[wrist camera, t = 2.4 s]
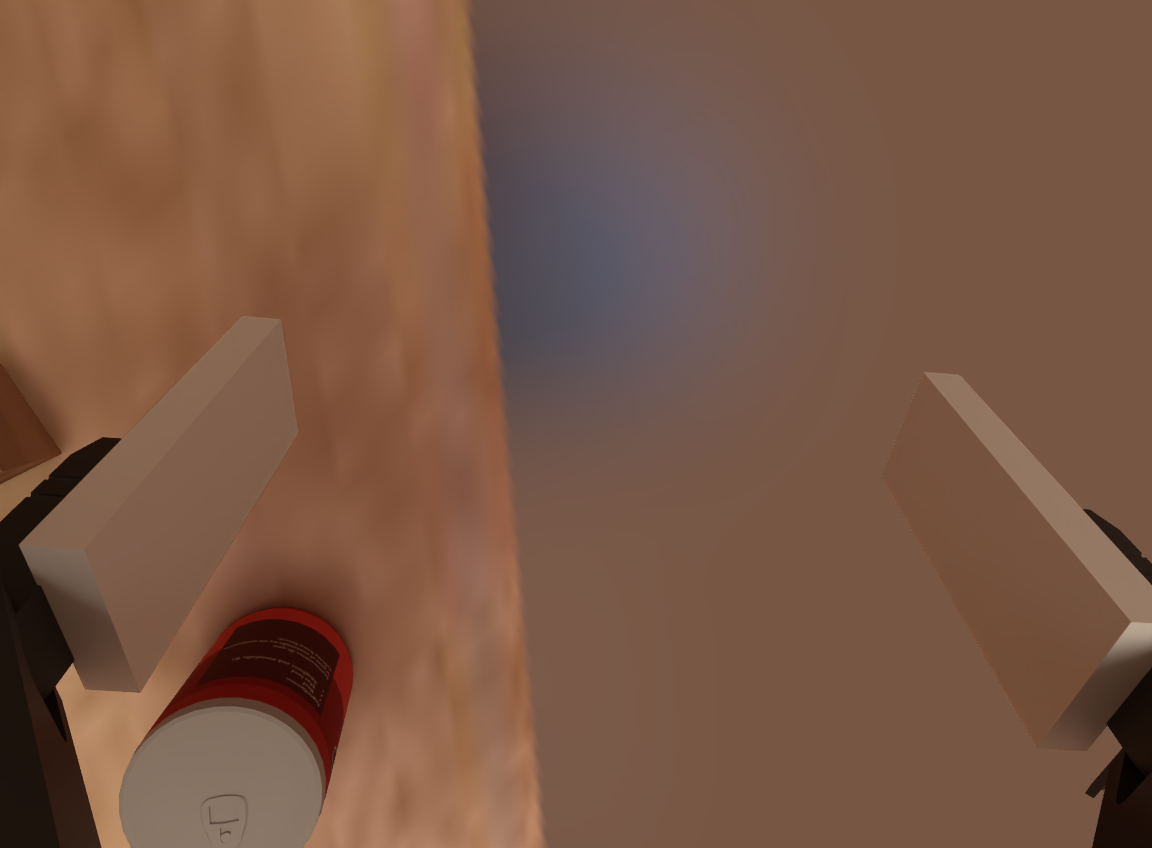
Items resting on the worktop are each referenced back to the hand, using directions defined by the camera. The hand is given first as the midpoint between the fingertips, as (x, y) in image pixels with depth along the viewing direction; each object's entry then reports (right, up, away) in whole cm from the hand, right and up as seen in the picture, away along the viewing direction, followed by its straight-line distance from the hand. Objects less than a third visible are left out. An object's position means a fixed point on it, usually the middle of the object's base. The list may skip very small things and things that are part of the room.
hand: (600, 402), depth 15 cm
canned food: (-17, -14, +24) cm, 32 cm away
